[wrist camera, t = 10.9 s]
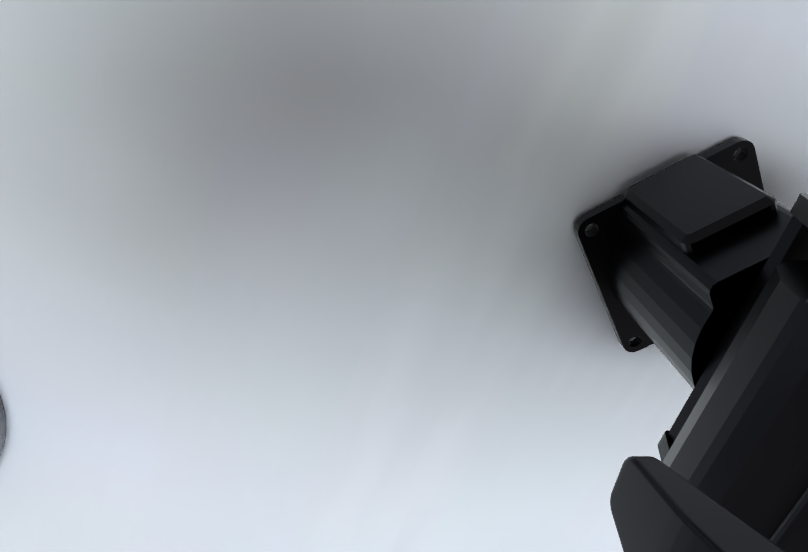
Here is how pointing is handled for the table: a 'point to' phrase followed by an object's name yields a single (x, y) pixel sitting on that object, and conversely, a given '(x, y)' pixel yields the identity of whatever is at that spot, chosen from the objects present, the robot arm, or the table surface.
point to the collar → (2, 426)
